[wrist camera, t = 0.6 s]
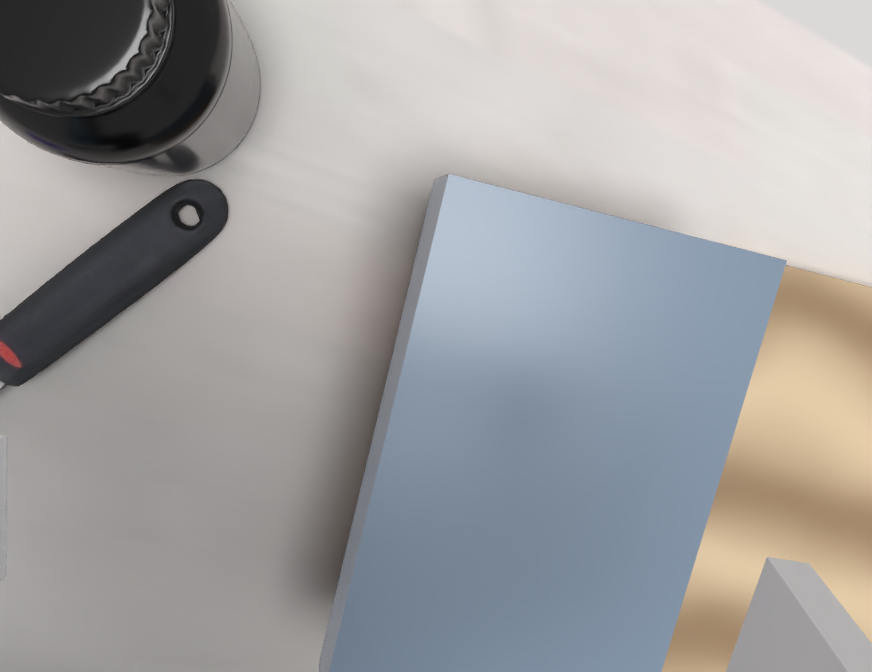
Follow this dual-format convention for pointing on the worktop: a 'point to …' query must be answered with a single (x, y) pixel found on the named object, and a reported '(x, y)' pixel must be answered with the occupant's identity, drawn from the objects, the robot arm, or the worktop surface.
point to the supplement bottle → (128, 81)
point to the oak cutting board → (791, 470)
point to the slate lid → (545, 439)
